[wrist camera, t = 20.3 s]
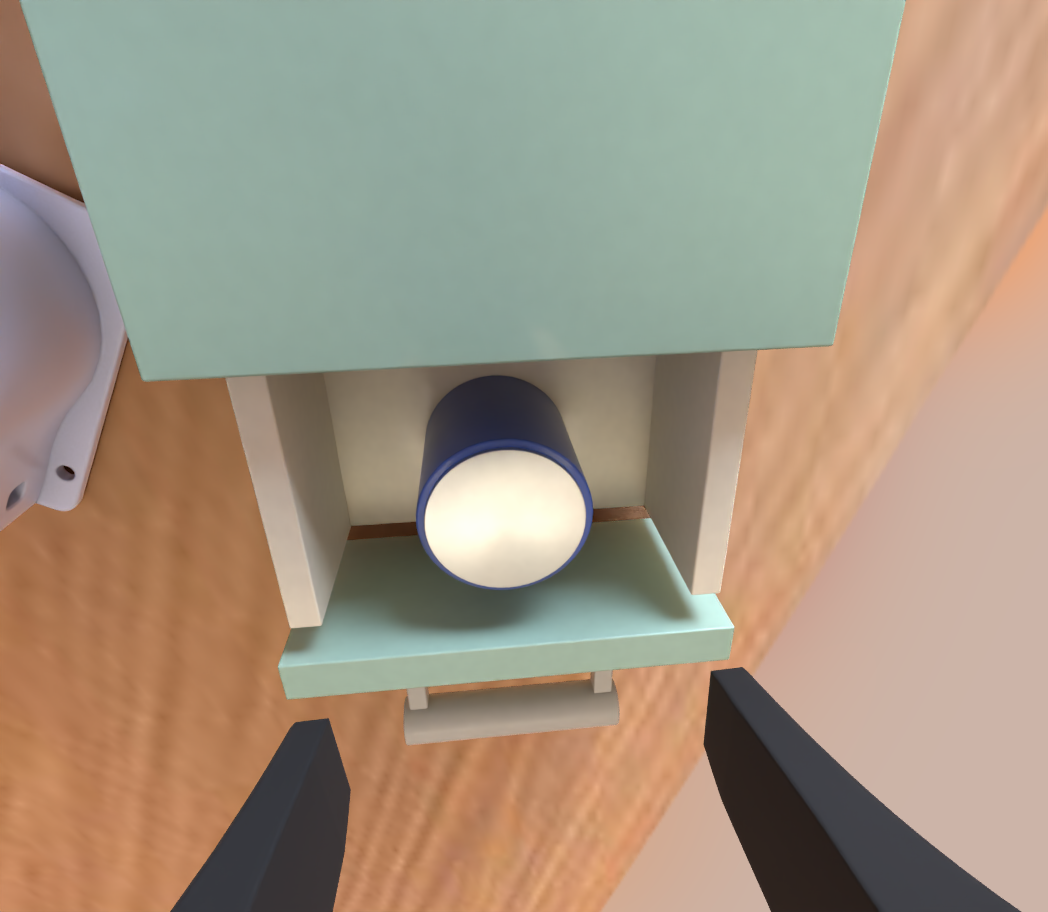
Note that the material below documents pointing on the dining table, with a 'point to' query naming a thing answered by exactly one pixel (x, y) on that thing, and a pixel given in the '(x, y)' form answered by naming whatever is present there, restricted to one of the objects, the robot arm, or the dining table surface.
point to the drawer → (483, 614)
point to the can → (501, 486)
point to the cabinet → (467, 174)
